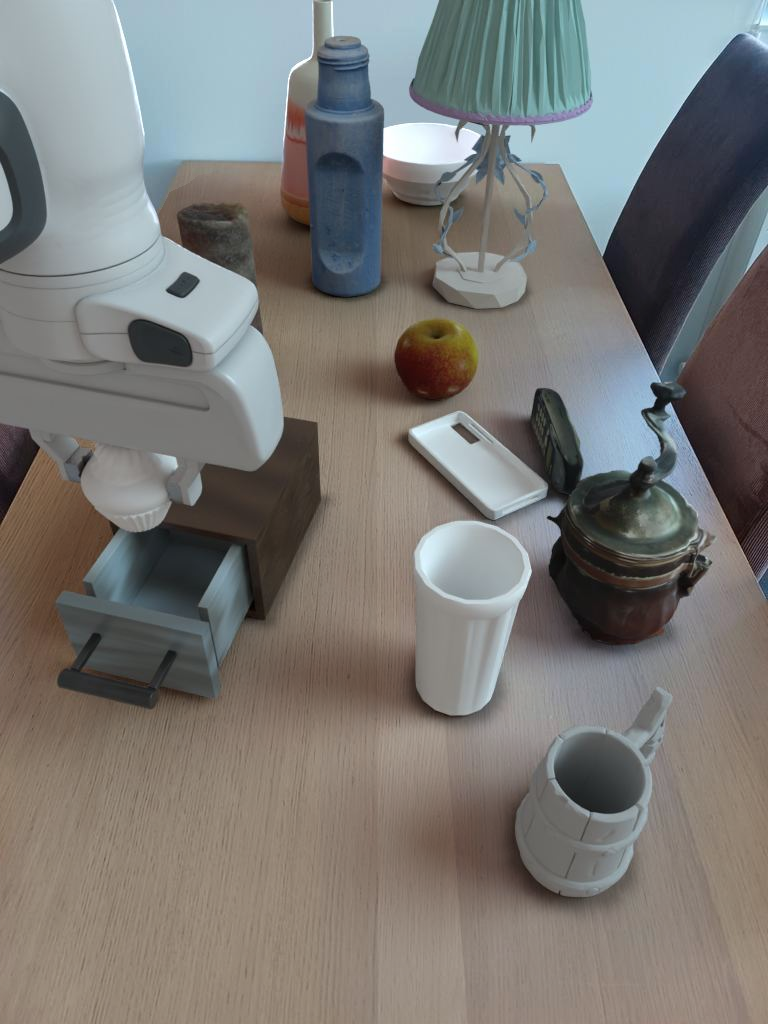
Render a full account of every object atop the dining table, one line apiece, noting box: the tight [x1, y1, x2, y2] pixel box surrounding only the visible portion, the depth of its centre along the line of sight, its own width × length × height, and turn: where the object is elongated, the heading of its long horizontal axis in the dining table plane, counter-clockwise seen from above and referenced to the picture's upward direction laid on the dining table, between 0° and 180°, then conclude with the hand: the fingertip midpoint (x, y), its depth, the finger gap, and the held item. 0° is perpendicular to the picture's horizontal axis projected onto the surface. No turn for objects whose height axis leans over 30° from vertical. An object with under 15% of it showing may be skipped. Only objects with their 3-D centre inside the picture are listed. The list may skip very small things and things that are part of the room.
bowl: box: [383, 122, 481, 206], centre depth 133 cm, size 19×20×8 cm
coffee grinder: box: [546, 381, 717, 645], centre depth 65 cm, size 13×15×18 cm
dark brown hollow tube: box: [176, 202, 265, 338], centre depth 88 cm, size 8×7×20 cm
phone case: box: [407, 410, 549, 521], centre depth 83 cm, size 7×1×15 cm
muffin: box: [80, 442, 178, 532], centre depth 51 cm, size 6×6×7 cm
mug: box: [514, 686, 673, 898], centre depth 51 cm, size 8×12×12 cm, turn 133°
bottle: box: [305, 35, 385, 298], centre depth 102 cm, size 10×10×30 cm
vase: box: [279, 0, 334, 227], centre depth 118 cm, size 14×14×30 cm
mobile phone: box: [530, 387, 584, 496], centre depth 83 cm, size 5×3×15 cm
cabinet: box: [108, 415, 322, 620], centre depth 71 cm, size 16×13×10 cm
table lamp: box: [408, 0, 594, 310], centre depth 98 cm, size 22×22×40 cm
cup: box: [411, 520, 533, 716], centre depth 59 cm, size 8×8×14 cm
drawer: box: [54, 527, 254, 711], centre depth 63 cm, size 19×11×8 cm, turn 166°
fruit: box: [393, 318, 479, 401], centre depth 91 cm, size 10×9×8 cm
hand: (133, 487), depth 52 cm, fingers closed on muffin, 6 cm apart
